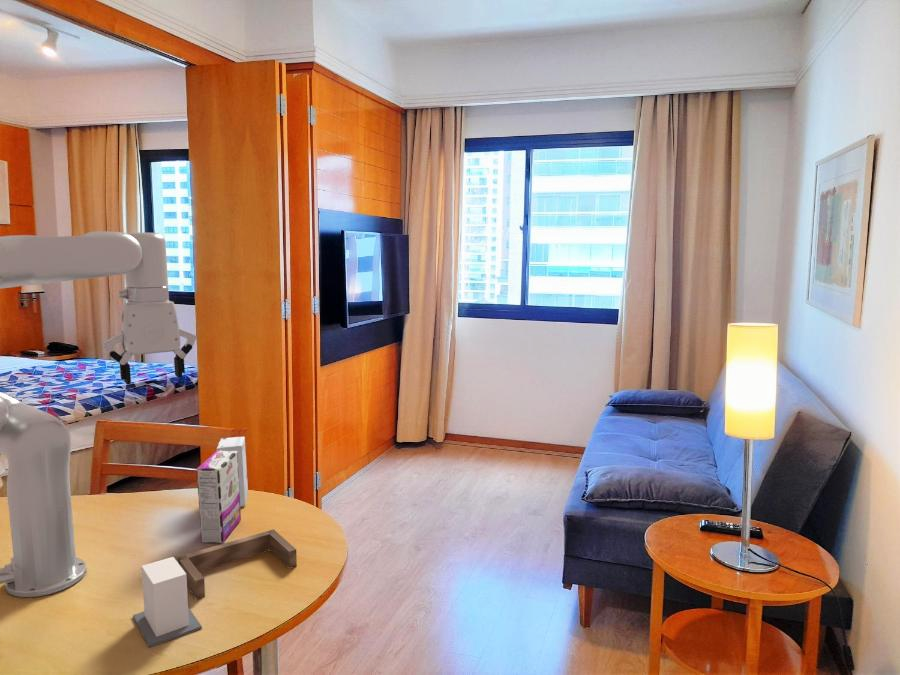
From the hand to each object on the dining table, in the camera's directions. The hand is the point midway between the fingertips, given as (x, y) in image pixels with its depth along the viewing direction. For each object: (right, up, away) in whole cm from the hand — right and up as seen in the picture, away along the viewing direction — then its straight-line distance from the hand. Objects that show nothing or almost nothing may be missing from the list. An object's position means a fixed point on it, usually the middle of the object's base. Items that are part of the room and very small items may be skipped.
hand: (153, 379), depth 130 cm
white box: (+13, -38, -24) cm, 47 cm away
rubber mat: (+13, -39, -24) cm, 47 cm away
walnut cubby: (+20, -36, -8) cm, 42 cm away
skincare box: (+8, -31, +24) cm, 40 cm away
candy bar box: (+11, -33, +8) cm, 36 cm away
